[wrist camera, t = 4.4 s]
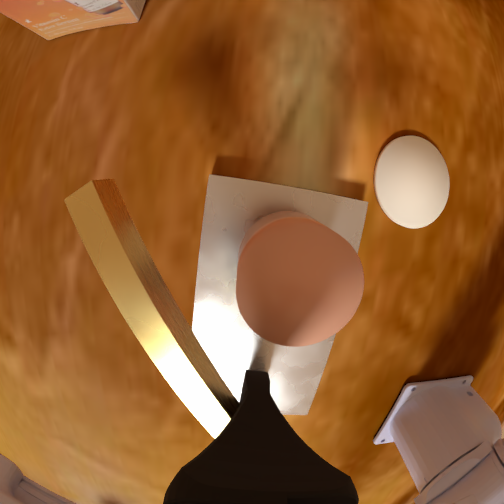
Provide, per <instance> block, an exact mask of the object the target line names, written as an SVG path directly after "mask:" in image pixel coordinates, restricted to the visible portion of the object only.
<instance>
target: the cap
mask: <svg viewBox="0 0 504 504" xmlns="http://www.w3.org/2000/svg"><path fill="white" fill-rule="evenodd" d="M363 288H364V273H363V268H362V264H361V261H360V259H359V257H358V255H357V253H356V251H355V250H354V248H353V247H352V246H351V244H350V243H349V242H348V241H347V240H346V239H344V238H343V237H342V236H341V235H339V234H338V233H336V232H334V231H333V230H331V229H330V228H328V227H327V226H325V225H324V224H322V223H320V222H319V221H317V220H316V219H314V218H312V217H310V216H309V215H306V214H304V213H300V212H296V211H280V212H275V213H272V214H269V215H267V216H265V217H263V218H261V219H260V220H258V221H257V222H256V223H255V224H253V225H252V226H251V228H250V229H249V230H248V231H247V233H246V234H245V236H244V237H243V239H242V242H241V244H240V247H239V252H238V263H237V278H236V300H237V305H238V308H239V311H240V313H241V315H242V317H243V319H244V321H245V322H246V323H247V325H248V326H249V327H250V328H251V329H252V330H253V331H254V332H255V333H256V334H257V335H259V336H260V337H262V338H264V339H265V340H267V341H269V342H272V343H274V344H278V345H282V346H289V347H300V346H307V345H312V344H315V343H318V342H321V341H323V340H325V339H328V338H329V337H331V336H333V335H334V334H336V333H337V332H338V331H340V330H341V329H342V328H343V327H344V326H345V325H346V324H347V323H348V322H349V320H350V319H351V318H352V316H353V315H354V313H355V312H356V310H357V308H358V306H359V304H360V301H361V298H362V294H363Z"/></svg>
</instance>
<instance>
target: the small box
mask: <svg viewBox="0 0 504 504" xmlns="http://www.w3.org/2000/svg"><path fill="white" fill-rule="evenodd" d="M145 1H146V0H0V13H2V14H4V15H6V16H7V17H9V18H11V19H13V20H15V21H16V22H18V23H20V24H21V25H23V26H25V27H27V28H28V29H30V30H32V31H33V32H35V33H37V34H38V35H40V36H42V37H43V38H45V39H47V40H51V39H54V38H57V37H60V36H63V35H67V34H71V33H75V32H79V31H84V30H88V29H93V28H99V27H105V26H111V25H117V24H124V23H135V22H138V21H139V19H140V16H141V13H142V10H143V7H144V4H145Z"/></svg>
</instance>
